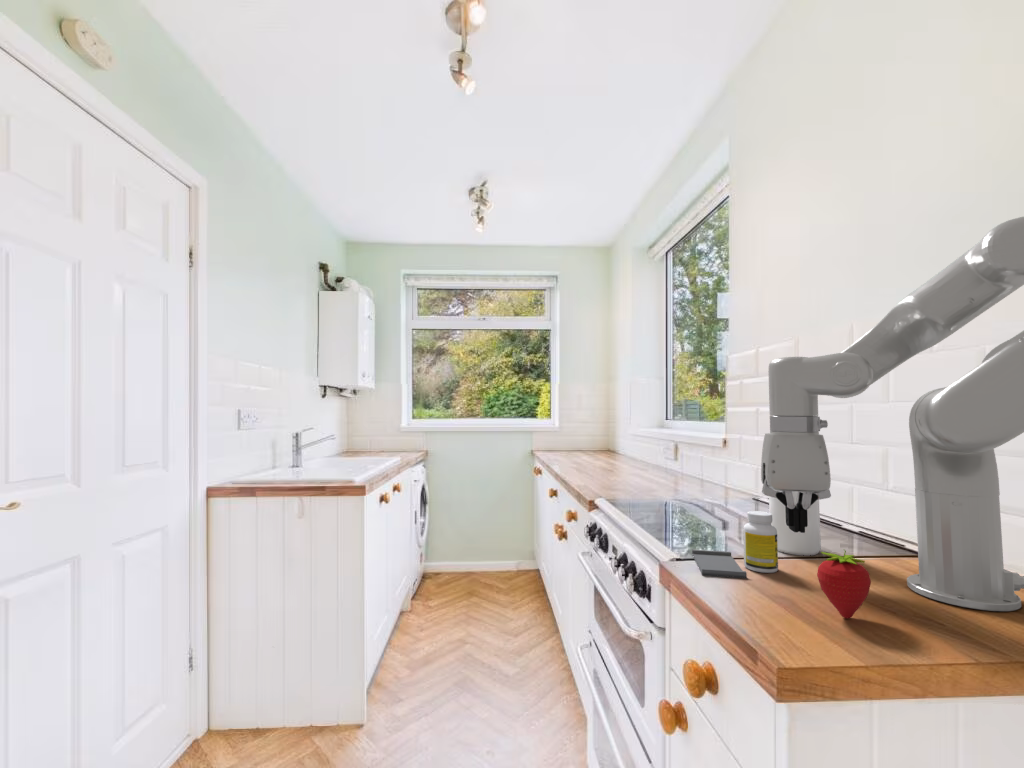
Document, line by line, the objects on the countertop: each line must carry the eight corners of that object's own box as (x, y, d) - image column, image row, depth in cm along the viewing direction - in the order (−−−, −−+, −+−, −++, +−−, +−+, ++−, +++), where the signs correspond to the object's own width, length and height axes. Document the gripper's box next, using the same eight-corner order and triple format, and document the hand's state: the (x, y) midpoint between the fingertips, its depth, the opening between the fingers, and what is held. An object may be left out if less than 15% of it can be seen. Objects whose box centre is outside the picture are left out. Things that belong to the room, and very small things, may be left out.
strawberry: (810, 618, 65) (807, 543, 65) (830, 604, 69) (827, 534, 70) (862, 633, 60) (859, 553, 61) (880, 617, 65) (876, 542, 65)
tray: (730, 557, 92) (730, 551, 92) (746, 578, 80) (746, 572, 80) (692, 554, 93) (692, 549, 93) (702, 575, 82) (702, 569, 82)
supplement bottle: (783, 574, 82) (781, 516, 82) (749, 572, 83) (747, 515, 83) (772, 564, 87) (770, 510, 88) (740, 563, 88) (739, 509, 89)
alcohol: (773, 553, 94) (768, 401, 96) (768, 542, 102) (763, 402, 104) (825, 558, 91) (819, 400, 92) (816, 546, 99) (810, 401, 100)
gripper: (831, 426, 87) (835, 528, 86) (743, 425, 90) (745, 523, 89) (851, 427, 80) (855, 539, 79) (753, 426, 83) (756, 533, 82)
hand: (796, 530), depth 84 cm, fingers closed
